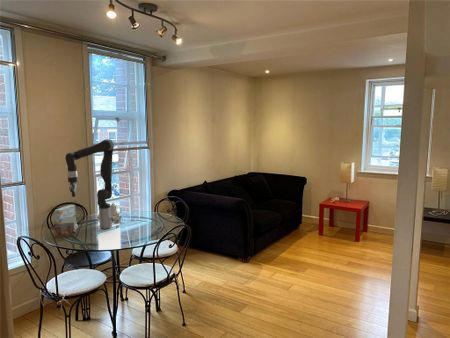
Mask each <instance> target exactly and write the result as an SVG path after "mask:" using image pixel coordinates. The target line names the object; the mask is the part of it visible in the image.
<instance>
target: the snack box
mask: <svg viewBox="0 0 450 338" xmlns="http://www.w3.org/2000/svg"><path fill="white" fill-rule="evenodd" d="M75 217H76V218H77V216H76V205H75V204H68V205H65V206H63V207H62V206H61V207H59V208H57V209H54V227H55V226H60V223H61V221H62V219H63V218H75Z"/></svg>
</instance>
